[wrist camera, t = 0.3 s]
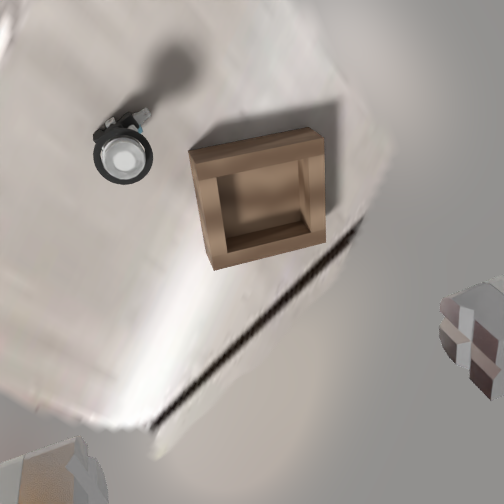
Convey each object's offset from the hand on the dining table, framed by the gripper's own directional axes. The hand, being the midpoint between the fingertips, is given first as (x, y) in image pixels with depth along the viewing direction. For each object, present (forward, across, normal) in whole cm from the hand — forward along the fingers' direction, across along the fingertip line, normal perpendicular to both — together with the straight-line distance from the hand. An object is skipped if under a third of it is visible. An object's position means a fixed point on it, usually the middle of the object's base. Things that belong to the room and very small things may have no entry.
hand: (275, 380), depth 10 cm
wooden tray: (+46, -10, +19) cm, 51 cm away
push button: (+46, +2, +6) cm, 47 cm away
